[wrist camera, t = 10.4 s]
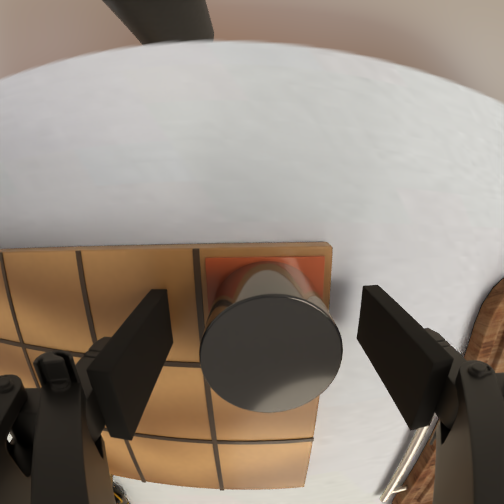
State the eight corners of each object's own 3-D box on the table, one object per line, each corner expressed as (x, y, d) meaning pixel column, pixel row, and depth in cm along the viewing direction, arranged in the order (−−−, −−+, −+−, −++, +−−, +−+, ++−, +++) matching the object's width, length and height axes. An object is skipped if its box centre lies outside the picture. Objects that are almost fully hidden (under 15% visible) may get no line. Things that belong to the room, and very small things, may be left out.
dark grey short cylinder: (210, 259, 14) (194, 292, 10) (325, 260, 14) (352, 293, 10) (213, 358, 15) (203, 412, 11) (315, 358, 15) (332, 410, 11)
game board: (-39, 249, 15) (-49, 254, 13) (327, 241, 15) (334, 247, 13) (31, 441, 19) (25, 449, 18) (302, 477, 19) (304, 489, 18)
